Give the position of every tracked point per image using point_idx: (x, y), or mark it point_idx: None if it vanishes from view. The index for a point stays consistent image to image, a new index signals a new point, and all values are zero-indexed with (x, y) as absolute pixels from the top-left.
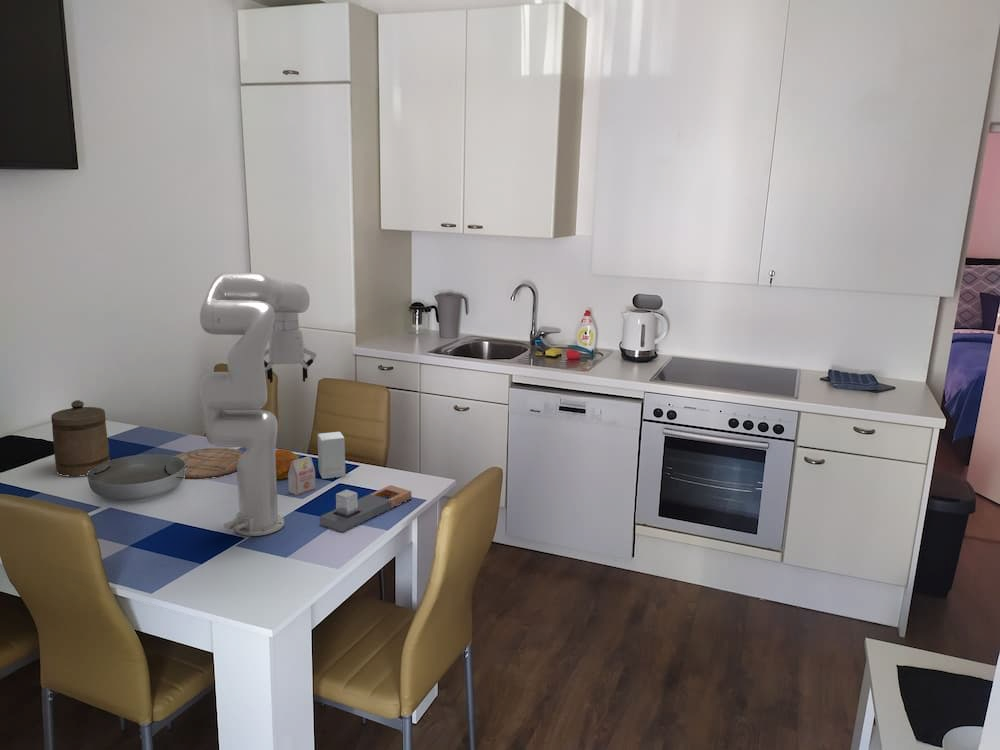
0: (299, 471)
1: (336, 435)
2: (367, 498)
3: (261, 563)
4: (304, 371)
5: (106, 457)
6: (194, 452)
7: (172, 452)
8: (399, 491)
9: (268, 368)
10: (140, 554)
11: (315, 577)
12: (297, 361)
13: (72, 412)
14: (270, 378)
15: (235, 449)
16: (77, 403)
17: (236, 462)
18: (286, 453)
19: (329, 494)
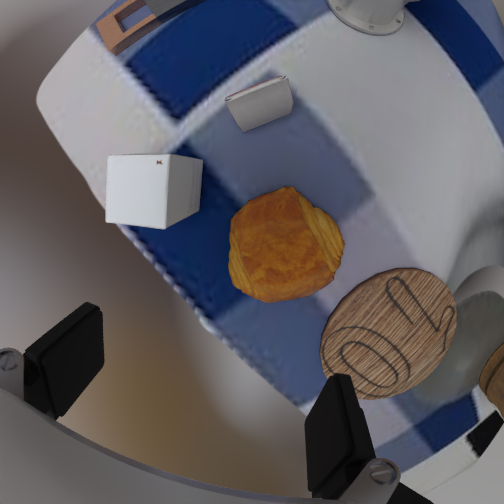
0: (267, 81)
1: (120, 184)
2: (168, 2)
3: None
4: (41, 338)
5: (498, 367)
6: (394, 387)
7: (408, 405)
8: (110, 23)
9: (377, 468)
10: (492, 35)
11: None
12: (6, 411)
13: None
14: (350, 394)
15: None
16: None
17: (355, 315)
18: (263, 246)
19: (214, 72)
